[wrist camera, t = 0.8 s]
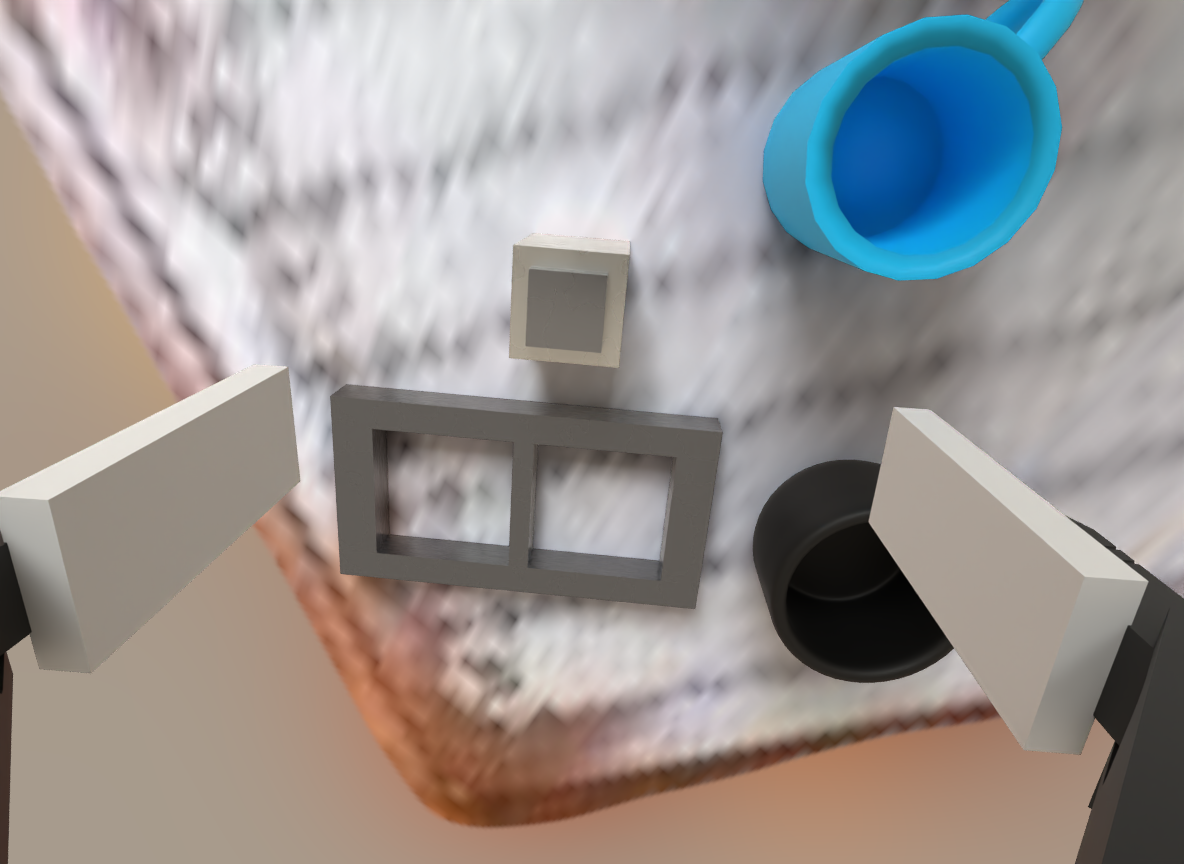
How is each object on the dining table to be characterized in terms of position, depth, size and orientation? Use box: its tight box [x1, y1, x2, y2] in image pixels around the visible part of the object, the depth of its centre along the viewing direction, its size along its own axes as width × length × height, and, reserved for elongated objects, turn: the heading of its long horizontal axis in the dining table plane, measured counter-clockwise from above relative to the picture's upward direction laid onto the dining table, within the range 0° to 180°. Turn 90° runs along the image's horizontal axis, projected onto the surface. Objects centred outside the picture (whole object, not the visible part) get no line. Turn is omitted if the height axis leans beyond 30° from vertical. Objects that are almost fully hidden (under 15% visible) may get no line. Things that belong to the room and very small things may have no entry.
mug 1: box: [763, 0, 1083, 281], centre depth 26 cm, size 12×8×8 cm
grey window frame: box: [330, 384, 723, 609], centre depth 36 cm, size 10×19×2 cm, turn 86°
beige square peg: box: [509, 233, 630, 368], centre depth 30 cm, size 4×4×7 cm
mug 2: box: [753, 460, 954, 683], centre depth 33 cm, size 12×9×7 cm
